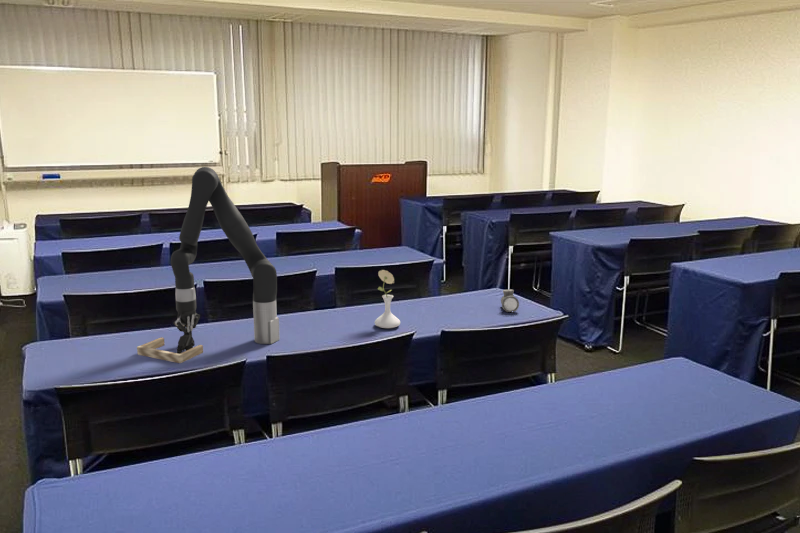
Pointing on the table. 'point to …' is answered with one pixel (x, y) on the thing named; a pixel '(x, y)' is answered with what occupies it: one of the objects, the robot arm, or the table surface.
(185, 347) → the power plug
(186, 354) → the bracket
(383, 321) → the flower in vase
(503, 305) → the pipe fitting
